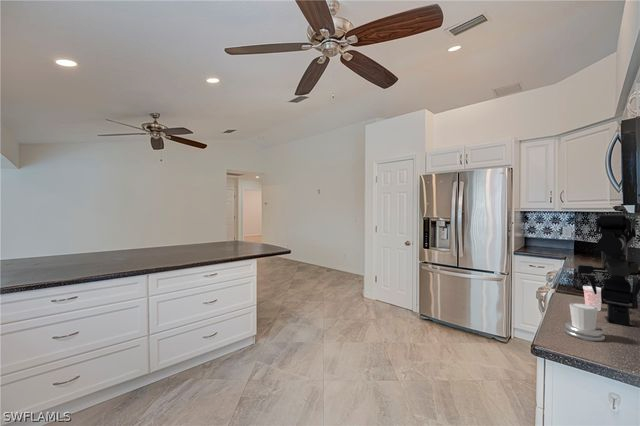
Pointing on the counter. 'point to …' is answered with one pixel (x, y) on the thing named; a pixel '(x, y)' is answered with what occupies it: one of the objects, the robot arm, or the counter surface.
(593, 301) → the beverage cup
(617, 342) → the counter surface
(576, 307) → the white cup
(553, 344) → the counter surface
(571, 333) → the duct stub
